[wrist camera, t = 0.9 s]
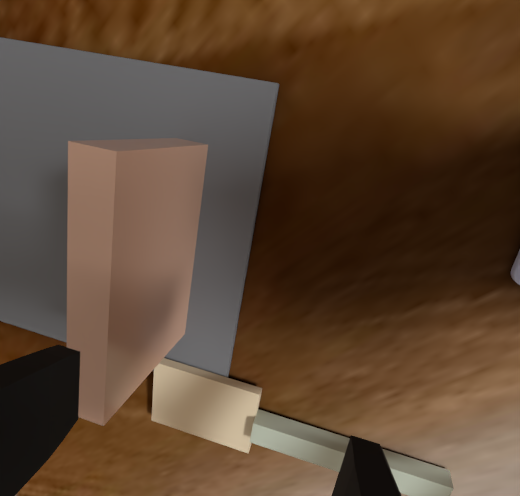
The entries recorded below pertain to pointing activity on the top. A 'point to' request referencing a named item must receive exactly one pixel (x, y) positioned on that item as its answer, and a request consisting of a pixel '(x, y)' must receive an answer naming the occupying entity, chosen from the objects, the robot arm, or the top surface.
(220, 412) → the turner
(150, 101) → the mat
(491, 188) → the top surface
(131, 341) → the block
